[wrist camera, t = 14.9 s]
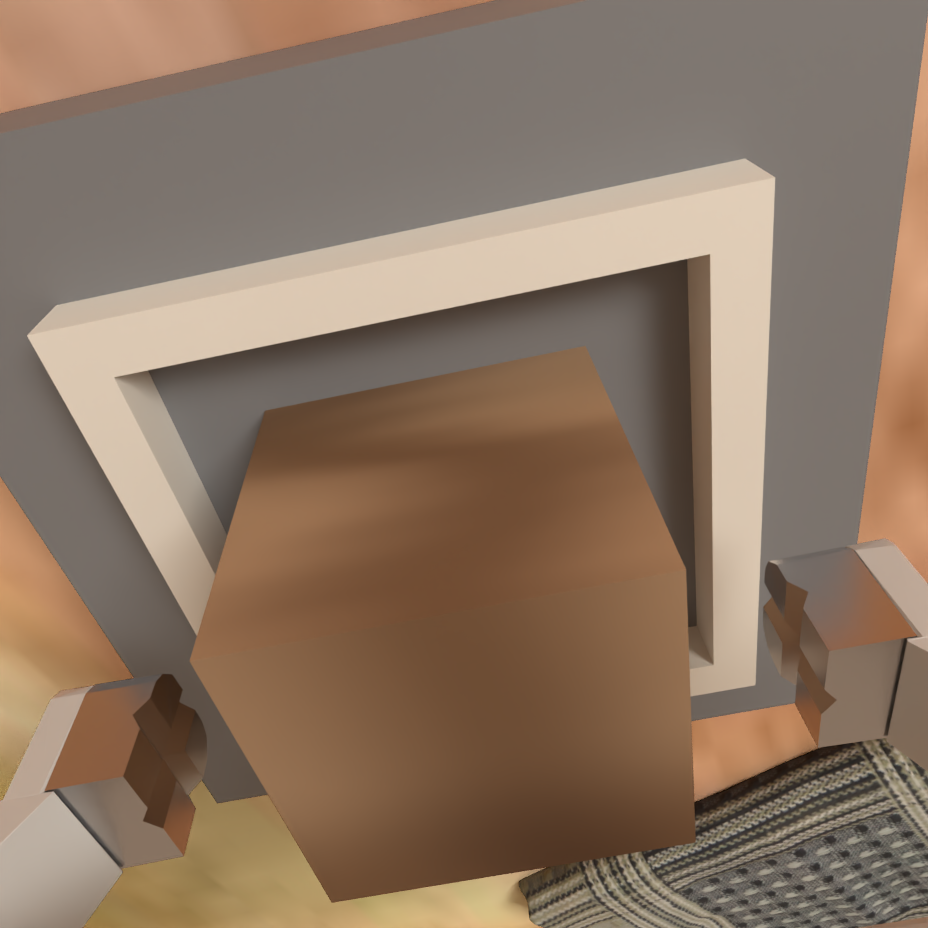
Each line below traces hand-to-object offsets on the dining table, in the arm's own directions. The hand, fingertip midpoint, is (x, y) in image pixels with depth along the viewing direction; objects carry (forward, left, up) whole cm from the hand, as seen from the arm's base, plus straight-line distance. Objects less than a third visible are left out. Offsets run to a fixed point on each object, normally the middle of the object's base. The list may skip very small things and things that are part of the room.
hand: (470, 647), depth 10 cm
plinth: (0, 0, -6) cm, 6 cm away
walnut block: (0, 0, -3) cm, 3 cm away
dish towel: (+10, -23, -7) cm, 26 cm away
